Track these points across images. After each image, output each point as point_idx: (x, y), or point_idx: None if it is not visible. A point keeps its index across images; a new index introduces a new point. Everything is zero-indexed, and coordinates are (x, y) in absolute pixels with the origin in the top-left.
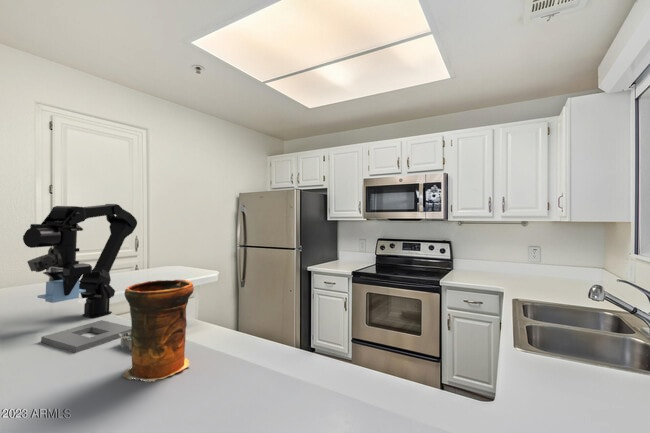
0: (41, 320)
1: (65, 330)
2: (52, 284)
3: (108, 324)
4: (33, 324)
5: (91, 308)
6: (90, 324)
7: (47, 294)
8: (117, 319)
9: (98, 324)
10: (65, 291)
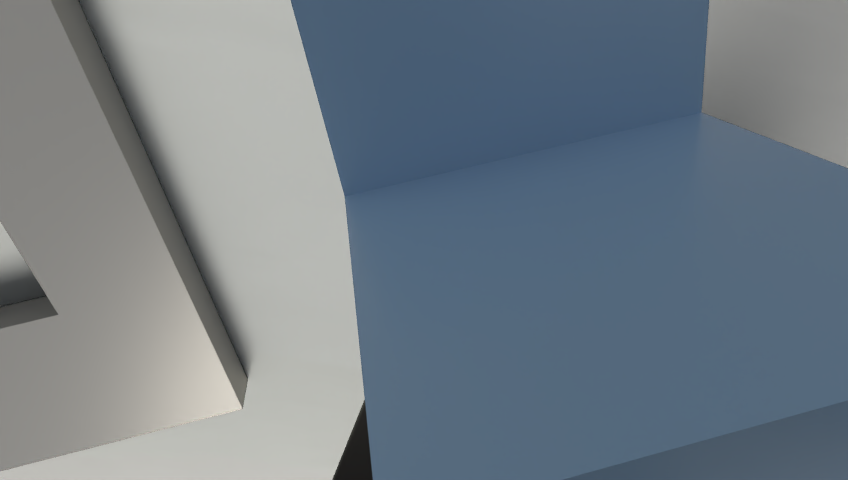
0: (806, 96)
1: (91, 122)
2: (474, 414)
3: (41, 419)
4: (750, 12)
5: None
6: (158, 325)
7: (616, 134)
8: (311, 475)
9: (106, 368)
10: (347, 455)
